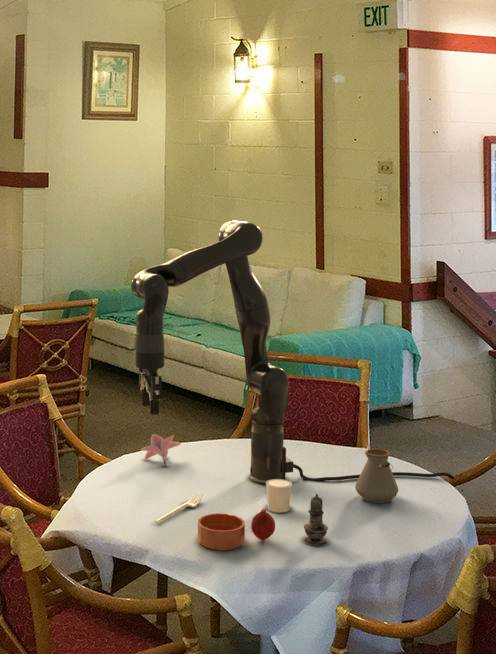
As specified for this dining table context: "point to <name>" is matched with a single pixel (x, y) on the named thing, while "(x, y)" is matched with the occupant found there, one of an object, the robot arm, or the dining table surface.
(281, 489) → the cream cylinder
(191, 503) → the fork
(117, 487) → the dining table surface
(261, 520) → the onion
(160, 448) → the lily
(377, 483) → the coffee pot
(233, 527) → the bowl
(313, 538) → the pawn-shaped pepper mill
